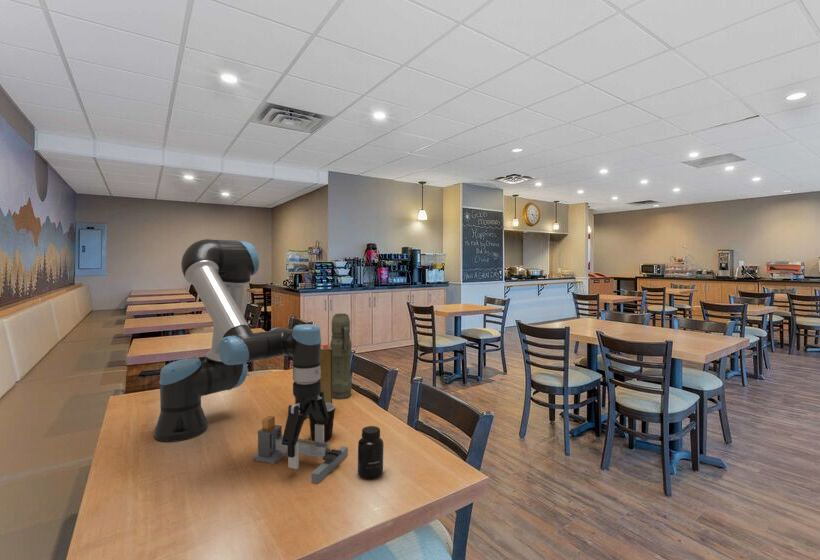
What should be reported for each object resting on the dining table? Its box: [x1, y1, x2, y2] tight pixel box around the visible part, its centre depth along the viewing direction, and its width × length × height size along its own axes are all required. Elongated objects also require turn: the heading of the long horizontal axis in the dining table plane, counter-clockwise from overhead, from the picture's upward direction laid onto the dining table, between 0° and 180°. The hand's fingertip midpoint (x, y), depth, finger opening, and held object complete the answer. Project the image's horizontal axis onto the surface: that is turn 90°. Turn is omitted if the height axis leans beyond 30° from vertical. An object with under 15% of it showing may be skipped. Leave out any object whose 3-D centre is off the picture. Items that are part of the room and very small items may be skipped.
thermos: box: [329, 313, 352, 400], centre depth 167 cm, size 9×12×35 cm
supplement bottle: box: [357, 425, 385, 480], centre depth 105 cm, size 7×7×12 cm
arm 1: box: [275, 438, 336, 462], centre depth 109 cm, size 19×2×3 cm, turn 72°
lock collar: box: [257, 415, 283, 457], centre depth 114 cm, size 4×5×10 cm
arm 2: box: [279, 434, 342, 457], centre depth 111 cm, size 19×2×3 cm, turn 71°
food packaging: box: [294, 344, 333, 419], centre depth 147 cm, size 13×9×25 cm
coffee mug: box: [308, 403, 336, 443], centre depth 128 cm, size 12×9×10 cm
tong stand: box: [252, 434, 349, 485], centre depth 111 cm, size 24×16×7 cm, turn 71°
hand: (307, 456), depth 110 cm, fingers open, 12 cm apart
